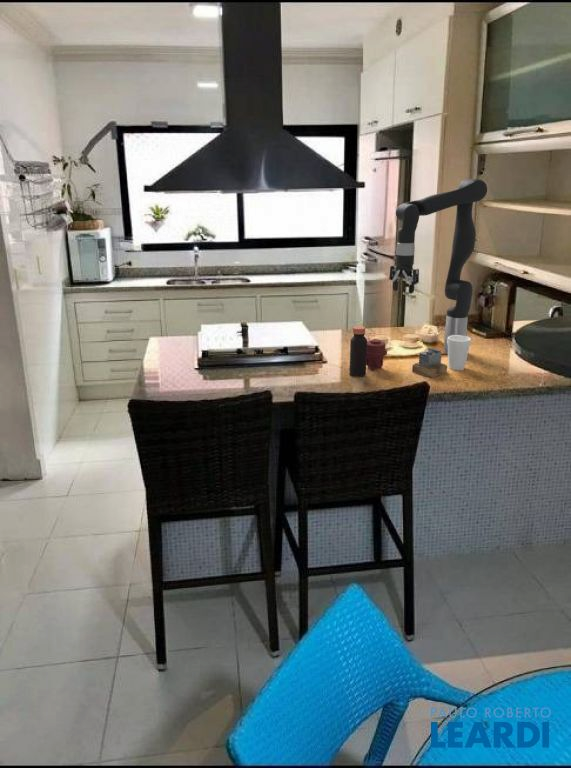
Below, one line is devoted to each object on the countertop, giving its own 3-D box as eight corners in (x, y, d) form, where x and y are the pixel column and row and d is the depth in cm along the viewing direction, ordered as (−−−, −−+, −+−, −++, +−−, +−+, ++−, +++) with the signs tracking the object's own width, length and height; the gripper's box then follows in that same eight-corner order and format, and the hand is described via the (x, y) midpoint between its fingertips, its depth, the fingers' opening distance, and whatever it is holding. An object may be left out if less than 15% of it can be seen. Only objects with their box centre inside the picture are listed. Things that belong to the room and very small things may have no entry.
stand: (427, 366, 256) (428, 358, 255) (446, 372, 249) (447, 364, 248) (412, 371, 251) (412, 363, 249) (431, 377, 243) (431, 369, 242)
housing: (431, 360, 253) (432, 347, 251) (440, 363, 249) (441, 349, 247) (418, 364, 248) (419, 350, 246) (428, 367, 244) (429, 353, 242)
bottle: (346, 373, 250) (347, 326, 243) (360, 371, 252) (362, 324, 245) (354, 378, 244) (356, 330, 237) (369, 375, 246) (370, 328, 239)
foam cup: (441, 368, 254) (443, 338, 250) (451, 362, 261) (454, 334, 256) (461, 372, 248) (464, 342, 244) (472, 367, 255) (475, 338, 250)
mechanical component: (386, 365, 259) (385, 372, 249) (363, 364, 261) (361, 371, 251) (388, 337, 254) (387, 344, 245) (364, 336, 256) (362, 343, 247)
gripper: (424, 254, 248) (421, 293, 253) (398, 250, 258) (396, 288, 264) (412, 256, 243) (410, 295, 249) (386, 252, 254) (384, 290, 260)
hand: (403, 291), depth 256 cm, fingers open, 8 cm apart
